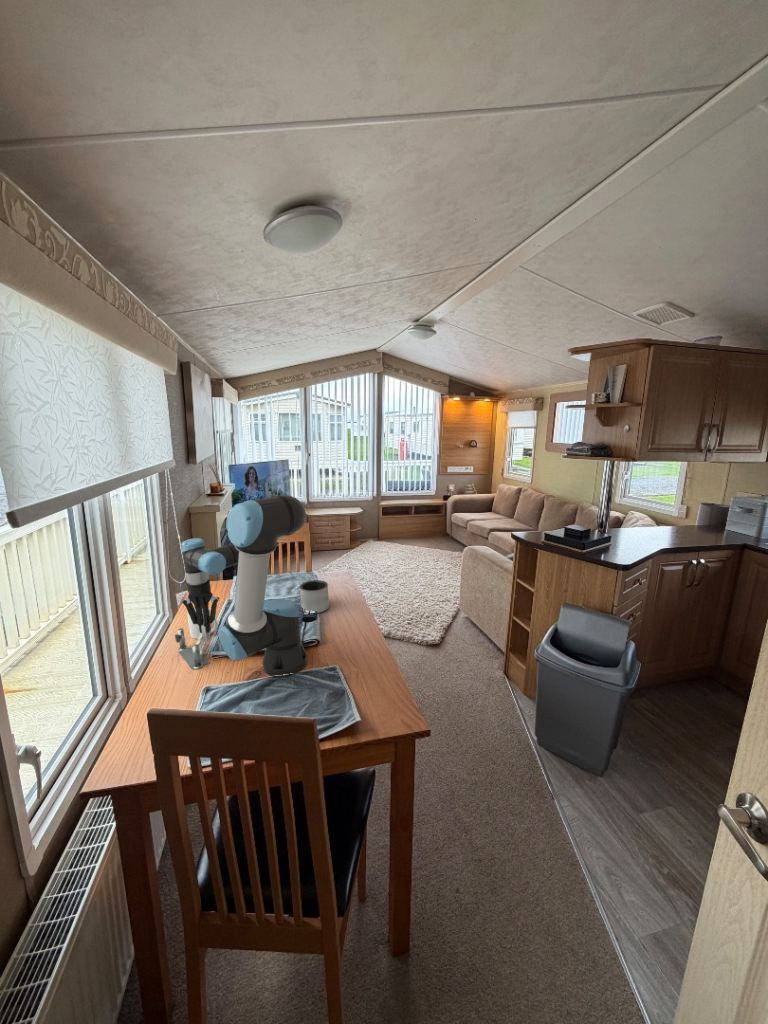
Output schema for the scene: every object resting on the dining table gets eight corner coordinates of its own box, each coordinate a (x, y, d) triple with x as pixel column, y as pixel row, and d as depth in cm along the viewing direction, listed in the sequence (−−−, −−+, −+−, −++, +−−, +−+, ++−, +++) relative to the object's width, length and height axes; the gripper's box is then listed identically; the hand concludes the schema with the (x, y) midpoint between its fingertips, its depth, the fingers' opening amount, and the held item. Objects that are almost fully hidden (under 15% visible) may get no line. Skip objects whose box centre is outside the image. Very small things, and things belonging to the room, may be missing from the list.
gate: (200, 661, 150) (198, 644, 148) (197, 661, 149) (195, 644, 148) (206, 643, 161) (204, 627, 160) (203, 644, 161) (201, 628, 159)
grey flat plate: (210, 662, 150) (210, 661, 150) (192, 669, 146) (192, 668, 146) (195, 646, 161) (195, 645, 161) (178, 652, 157) (178, 651, 157)
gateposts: (204, 666, 147) (201, 646, 146) (193, 671, 145) (190, 650, 143) (186, 645, 161) (183, 626, 160) (175, 649, 159) (172, 630, 157)
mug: (224, 631, 172) (221, 608, 169) (211, 641, 164) (208, 617, 162) (199, 628, 175) (196, 605, 172) (185, 638, 167) (182, 614, 165)
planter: (304, 616, 183) (302, 592, 180) (298, 605, 194) (297, 582, 192) (332, 611, 187) (331, 587, 185) (325, 600, 199) (324, 578, 196)
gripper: (219, 576, 155) (227, 634, 161) (185, 577, 156) (194, 635, 161) (211, 584, 148) (220, 644, 154) (175, 585, 148) (185, 645, 154)
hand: (206, 639), depth 157 cm, fingers closed
